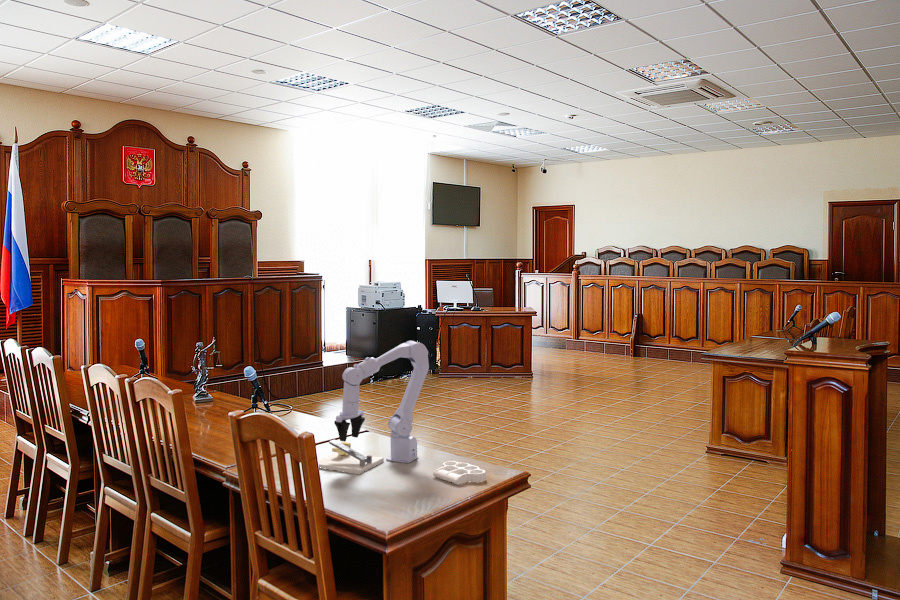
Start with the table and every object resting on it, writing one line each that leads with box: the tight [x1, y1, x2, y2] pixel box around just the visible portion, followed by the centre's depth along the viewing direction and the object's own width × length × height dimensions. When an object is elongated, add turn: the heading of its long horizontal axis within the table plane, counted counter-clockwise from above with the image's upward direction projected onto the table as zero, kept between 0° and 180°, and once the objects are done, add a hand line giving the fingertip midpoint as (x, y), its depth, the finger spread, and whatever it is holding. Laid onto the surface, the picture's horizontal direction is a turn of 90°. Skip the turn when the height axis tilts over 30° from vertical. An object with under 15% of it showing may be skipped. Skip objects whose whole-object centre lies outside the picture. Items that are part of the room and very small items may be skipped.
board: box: [317, 452, 385, 475], centre depth 238 cm, size 20×16×4 cm
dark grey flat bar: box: [328, 439, 370, 463], centre depth 236 cm, size 16×3×1 cm, turn 65°
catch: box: [331, 441, 352, 456], centre depth 244 cm, size 4×6×4 cm, turn 154°
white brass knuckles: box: [432, 460, 487, 486], centre depth 223 cm, size 3×18×15 cm
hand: (349, 439), depth 236 cm, fingers open, 7 cm apart
